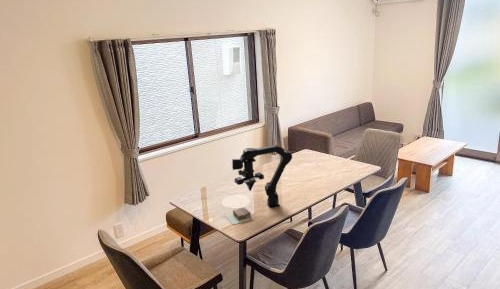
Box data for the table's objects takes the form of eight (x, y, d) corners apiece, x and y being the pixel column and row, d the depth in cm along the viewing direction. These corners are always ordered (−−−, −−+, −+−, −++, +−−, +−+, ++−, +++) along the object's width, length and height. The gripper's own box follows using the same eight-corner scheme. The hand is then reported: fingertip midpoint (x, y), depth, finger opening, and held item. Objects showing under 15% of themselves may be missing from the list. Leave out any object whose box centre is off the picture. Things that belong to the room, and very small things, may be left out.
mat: (241, 210, 236) (241, 210, 235) (251, 219, 223) (250, 219, 223) (224, 215, 231) (224, 215, 231) (233, 225, 219) (233, 224, 219)
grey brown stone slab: (244, 207, 233) (232, 210, 230) (250, 212, 225) (238, 216, 222) (244, 211, 234) (233, 214, 231) (250, 217, 226) (239, 220, 223)
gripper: (256, 161, 242) (257, 183, 247) (230, 167, 235) (232, 189, 239) (263, 166, 232) (264, 189, 237) (237, 172, 225) (238, 195, 230)
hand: (250, 190), depth 236 cm, fingers closed
